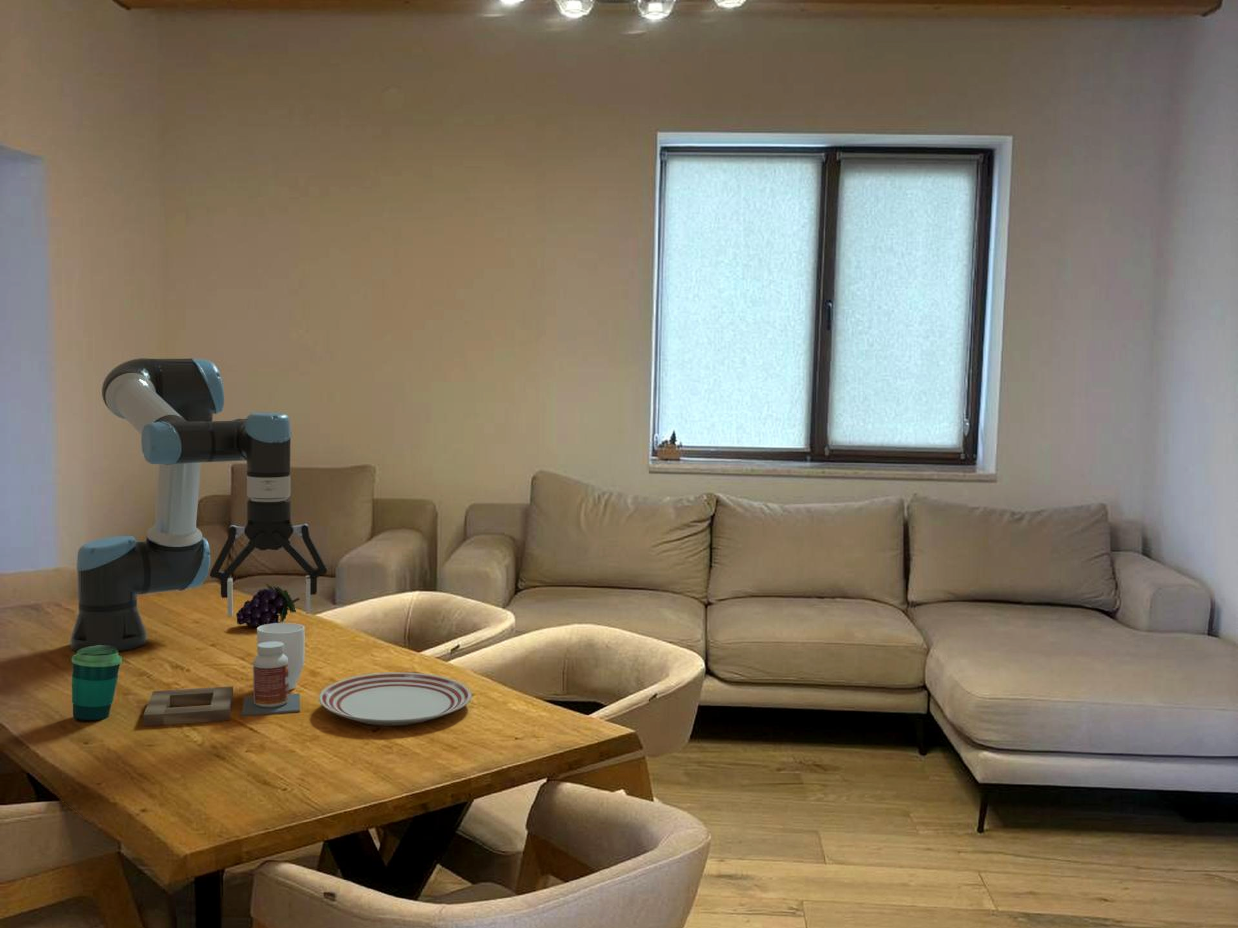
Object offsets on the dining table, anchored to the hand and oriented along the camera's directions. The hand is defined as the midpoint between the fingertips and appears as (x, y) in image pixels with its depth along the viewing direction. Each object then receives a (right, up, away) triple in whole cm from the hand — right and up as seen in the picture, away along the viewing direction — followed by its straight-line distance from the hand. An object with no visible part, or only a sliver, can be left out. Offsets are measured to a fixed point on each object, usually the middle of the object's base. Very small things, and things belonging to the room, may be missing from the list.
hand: (269, 613), depth 202 cm
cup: (-29, -18, -6) cm, 34 cm away
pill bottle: (0, -17, +1) cm, 17 cm away
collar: (-14, -17, -2) cm, 22 cm away
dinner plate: (+23, -18, +1) cm, 29 cm away
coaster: (0, -17, +1) cm, 17 cm away
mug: (-3, -16, +13) cm, 21 cm away
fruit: (-19, -11, +60) cm, 64 cm away
